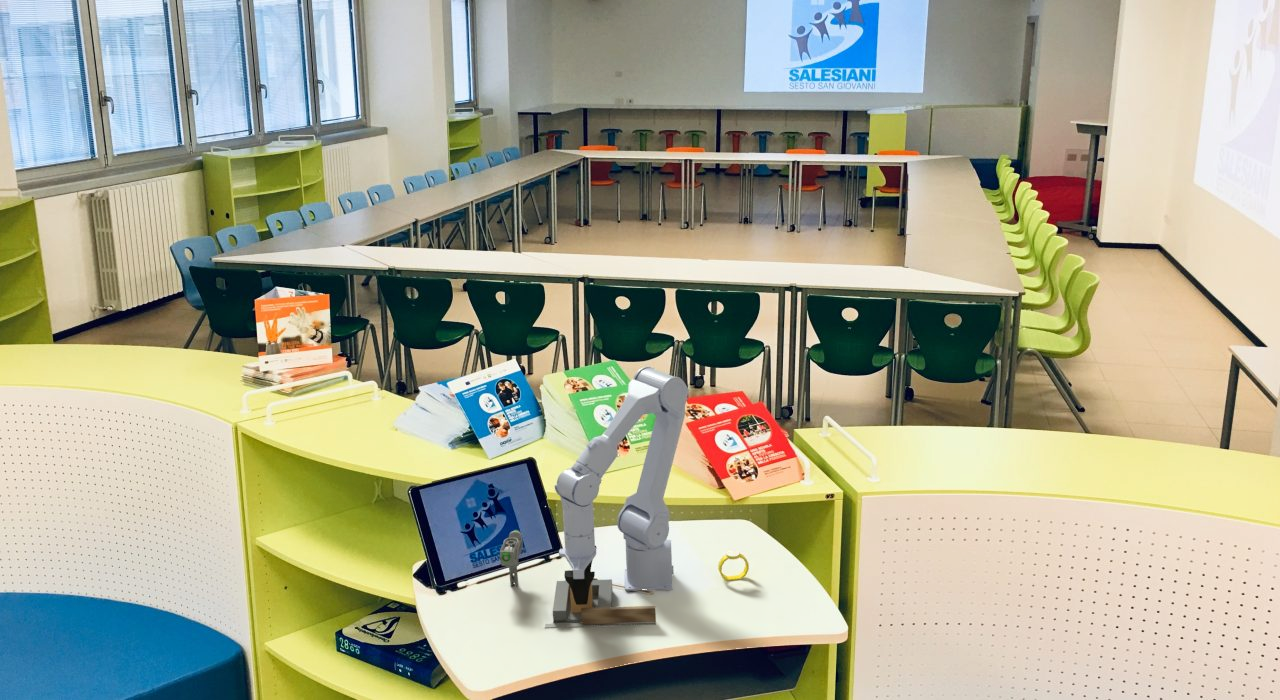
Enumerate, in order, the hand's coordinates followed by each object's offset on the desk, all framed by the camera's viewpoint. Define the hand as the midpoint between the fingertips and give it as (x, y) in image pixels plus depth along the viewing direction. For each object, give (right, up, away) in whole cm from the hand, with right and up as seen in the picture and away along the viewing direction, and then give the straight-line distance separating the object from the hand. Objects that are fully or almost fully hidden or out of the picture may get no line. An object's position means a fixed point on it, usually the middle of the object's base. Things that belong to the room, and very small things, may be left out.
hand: (582, 593), depth 211 cm
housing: (+4, -3, +1) cm, 5 cm away
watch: (+30, 0, +10) cm, 32 cm away
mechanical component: (-14, -1, +11) cm, 18 cm away
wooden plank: (+7, -5, -4) cm, 9 cm away
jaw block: (0, -3, +1) cm, 3 cm away
